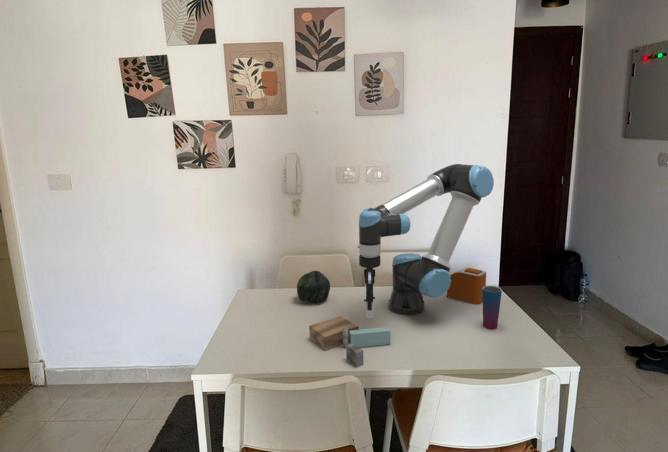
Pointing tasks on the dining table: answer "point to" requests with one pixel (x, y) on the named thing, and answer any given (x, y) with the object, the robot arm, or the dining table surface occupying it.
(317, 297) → the squash
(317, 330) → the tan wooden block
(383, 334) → the teal block
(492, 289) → the cup
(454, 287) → the brown toaster
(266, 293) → the dining table surface
